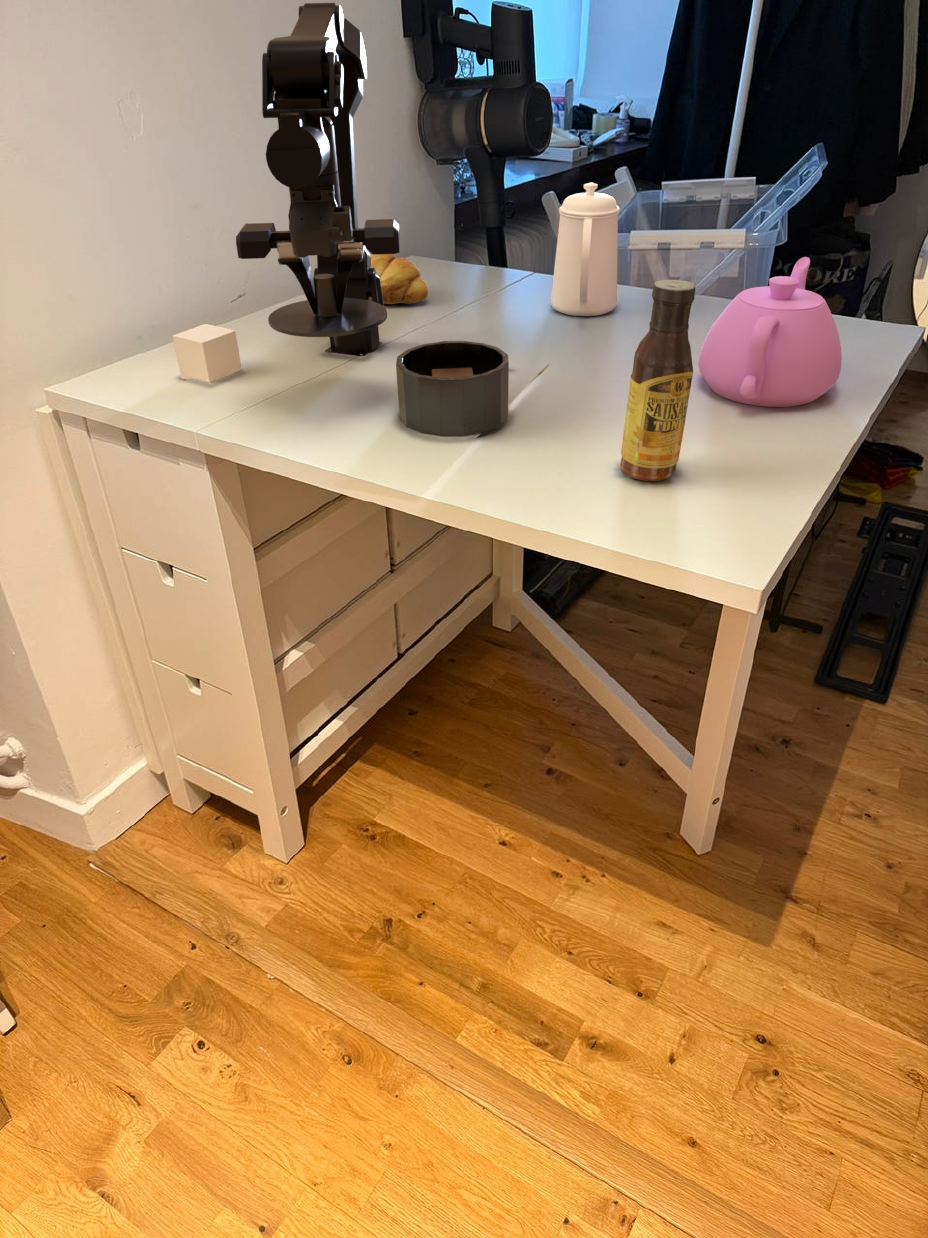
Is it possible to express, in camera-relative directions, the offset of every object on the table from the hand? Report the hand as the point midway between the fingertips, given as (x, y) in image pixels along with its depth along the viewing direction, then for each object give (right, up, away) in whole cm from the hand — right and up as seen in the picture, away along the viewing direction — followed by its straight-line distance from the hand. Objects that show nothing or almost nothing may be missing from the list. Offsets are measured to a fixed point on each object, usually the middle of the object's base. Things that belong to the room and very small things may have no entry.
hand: (327, 312), depth 107 cm
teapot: (+57, -6, +9) cm, 58 cm away
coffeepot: (+37, +14, +38) cm, 55 cm away
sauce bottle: (+37, -22, -11) cm, 45 cm away
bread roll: (+5, +17, +43) cm, 47 cm away
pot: (+16, -13, +1) cm, 20 cm away
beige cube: (-19, -4, +15) cm, 24 cm away
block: (+16, -12, +1) cm, 20 cm away
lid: (0, -1, 0) cm, 1 cm away
